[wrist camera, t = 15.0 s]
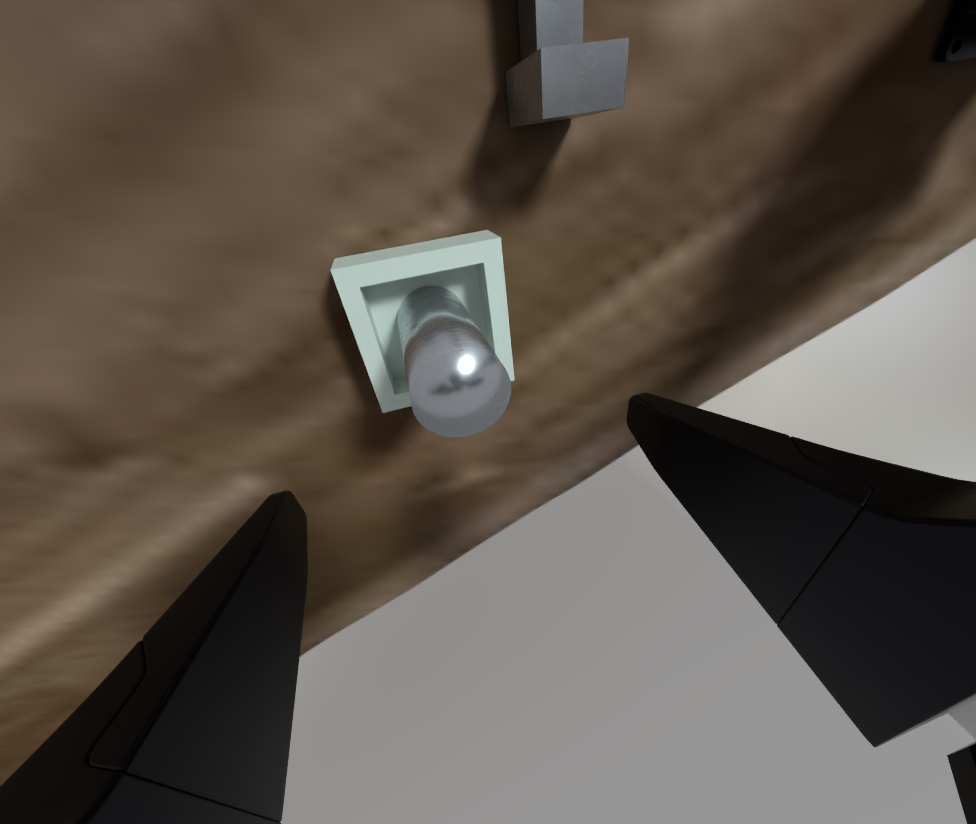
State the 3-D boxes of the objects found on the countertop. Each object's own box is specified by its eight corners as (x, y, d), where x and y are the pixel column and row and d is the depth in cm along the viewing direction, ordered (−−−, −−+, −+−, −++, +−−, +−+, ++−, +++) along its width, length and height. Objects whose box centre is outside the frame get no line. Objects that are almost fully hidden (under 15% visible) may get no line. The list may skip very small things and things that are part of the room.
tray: (486, 229, 16) (500, 237, 14) (502, 362, 20) (514, 380, 18) (334, 258, 15) (330, 270, 13) (381, 391, 19) (382, 413, 17)
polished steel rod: (459, 279, 16) (506, 338, 11) (470, 344, 18) (514, 423, 13) (388, 293, 16) (398, 363, 10) (407, 358, 18) (424, 448, 12)
